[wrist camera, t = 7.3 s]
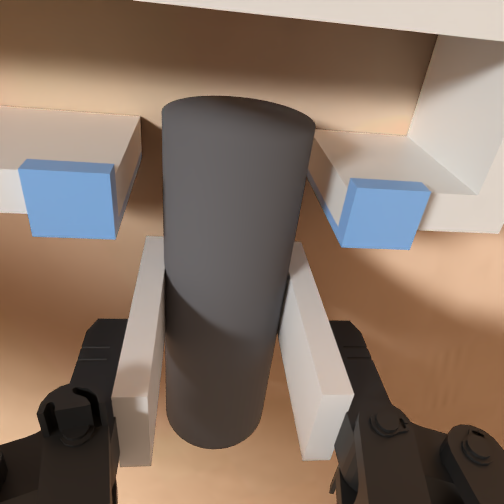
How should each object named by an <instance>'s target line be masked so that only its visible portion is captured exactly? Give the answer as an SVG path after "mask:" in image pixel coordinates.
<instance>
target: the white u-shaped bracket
mask: <svg viewBox="0 0 504 504" xmlns="http://www.w3.org/2000/svg"><path fill="white" fill-rule="evenodd" d="M135 1H144V2H153V3H162V4H171V5H180V6H189V7H198V8H207V9H216V10H225V11H234V12H243V13H252V14H261V15H270V16H279V17H288V18H297V19H306V20H315V21H324V22H333V23H342V24H351V25H360V26H369V27H378V28H387V29H396V30H405V31H414V32H423V33H432V34H438V37H437V41H436V44H435V47H434V50H433V53H432V57H431V60H430V63H429V66H428V69H427V73H426V76H425V79H424V82H423V85H422V89H421V92H420V95H419V98H418V101H417V105H416V108H415V111H414V114H413V117H412V121H411V124H410V127H409V130H408V133H407V136H400V135H387V134H373V133H360V132H347V131H333V130H320V129H315V134H314V139H313V144H312V150H311V155H310V160H309V166H308V171H307V179H308V181H309V183H310V185H311V187H312V189H313V191H314V193H315V195H316V197H317V199H318V201H319V203H320V205H321V207H322V209H323V211H324V213H325V215H326V217H327V219H328V221H329V223H330V225H331V227H332V229H333V231H334V233H335V236H336V238H337V240H338V242H339V244H340V246H341V247H343V248H371V249H400V250H410V248H411V245H412V242H413V239H414V237H415V234H416V231H417V230H423V231H447V232H471V233H494V234H499V232H500V230H501V228H502V226H503V224H504V0H135ZM141 159H142V145H141V122H140V116H132V115H119V114H106V113H92V112H79V111H65V110H52V109H39V108H25V107H12V106H0V213H20V214H28V218H29V223H30V228H31V232H32V237H59V238H87V239H116V237H117V234H118V231H119V227H120V224H121V221H122V218H123V215H124V212H125V209H126V206H127V203H128V199H129V196H130V193H131V190H132V187H133V184H134V181H135V178H136V175H137V172H138V168H139V165H140V162H141Z"/></svg>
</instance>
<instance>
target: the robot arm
mask: <svg viewBox="0 0 504 504" xmlns="http://www.w3.org/2000/svg"><path fill="white" fill-rule="evenodd" d="M165 333H166V316H165V266H164V237H162V236H146V240H145V245H144V249H143V254H142V258H141V263H140V268H139V272H138V277H137V281H136V286H135V291H134V295H133V300H132V304H131V309H130V314H129V318H128V319H98V320H97V321H96V322H95V323H94V324H93V325H92V326H91V327H90V328H89V329H88V331H87V332H86V335H85V338H84V341H83V344H82V349H81V350H80V353H79V357H78V361H77V363H76V366H75V369H74V372H73V375H72V378H71V381H70V384H67V385H64V386H60V387H59V388H57V389H56V390H54V391H52V392H51V393H49V394H48V395H47V397H46V398H45V399H44V400H43V401H42V402H41V404H40V406H39V409H38V412H37V417H38V420H39V424H40V427H41V431H39V432H37V433H35V434H33V435H30V436H28V437H25V438H22V439H19V440H15V441H12V442H9V443H6V444H2V445H0V504H118V497H117V482H116V474H117V468H118V462H120V467H137V466H151V463H152V453H153V444H154V435H155V425H156V416H157V407H158V398H159V388H160V379H161V370H162V360H163V351H164V342H165ZM277 334H278V339H279V344H280V349H281V354H282V359H283V364H284V369H285V374H286V379H287V385H288V390H289V395H290V400H291V405H292V410H293V415H294V420H295V425H296V430H297V435H298V440H299V446H300V451H301V456H302V461H315V460H330V459H331V456H332V454H333V451H334V448H335V452H336V455H337V459H338V463H339V465H338V467H337V470H336V472H335V475H334V477H333V480H332V482H331V485H330V492H329V493H331V494H334V491H335V489H336V496H337V504H504V450H503V449H502V447H501V446H500V445H499V444H498V443H497V441H496V440H495V439H494V438H493V437H492V436H490V435H489V434H487V433H486V432H485V431H483V430H481V429H479V428H476V427H474V426H471V425H463V424H461V425H458V426H455V427H453V428H452V429H451V430H450V432H449V433H448V434H445V433H442V432H438V431H435V430H431V429H428V428H424V427H421V426H418V425H416V424H413V423H412V422H410V421H409V419H408V418H407V417H406V415H405V414H404V413H403V412H402V411H401V410H399V409H398V408H396V407H395V406H393V405H392V404H391V402H390V400H389V398H388V395H387V393H386V391H385V388H384V386H383V384H382V381H381V379H380V377H379V374H378V372H377V370H376V367H375V365H374V362H373V360H371V355H370V353H369V351H368V349H367V348H366V347H367V346H366V344H365V341H364V339H363V337H362V334H361V332H360V331H359V330H358V329H357V328H356V327H355V326H354V325H353V324H352V323H351V322H350V321H328V318H327V315H326V312H325V309H324V306H323V303H322V300H321V298H320V295H319V292H318V289H317V286H316V283H315V280H314V277H313V275H312V272H311V269H310V266H309V263H308V260H307V257H306V255H305V252H304V249H303V246H302V243H301V242H294V245H293V251H292V256H291V261H290V266H289V272H288V277H287V282H286V288H285V293H284V298H283V304H282V309H281V314H280V320H279V325H278V330H277Z"/></svg>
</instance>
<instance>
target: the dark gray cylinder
mask: <svg viewBox="0 0 504 504" xmlns="http://www.w3.org/2000/svg"><path fill="white" fill-rule="evenodd" d="M315 128H316V126H315V123H314V122H313V120H312V119H311V118H309V117H308V116H307V115H305V114H303V113H301V112H299V111H297V110H295V109H292V108H289V107H286V106H283V105H280V104H276V103H272V102H268V101H263V100H257V99H251V98H243V97H232V96H198V97H189V98H183V99H179V100H176V101H173V102H170V103H168V104H167V105H166V106H164V108H163V109H162V164H163V229H164V266H165V316H166V333H165V359H166V411H167V417H168V420H169V423H170V425H171V426H172V428H173V430H174V431H175V432H176V433H177V434H178V435H179V436H180V437H181V438H182V439H184V440H185V441H187V442H188V443H190V444H192V445H195V446H198V447H201V448H206V449H222V448H228V447H231V446H234V445H236V444H238V443H240V442H242V441H244V440H245V439H246V438H248V437H249V436H250V435H251V434H252V433H253V432H254V430H255V429H256V427H257V426H258V424H259V422H260V419H261V415H262V410H263V405H264V399H265V394H266V389H267V383H268V378H269V373H270V367H271V362H272V357H273V351H274V346H275V341H276V335H277V330H278V325H279V320H280V314H281V309H282V304H283V298H284V293H285V288H286V282H287V277H288V272H289V266H290V261H291V256H292V251H293V245H294V240H295V235H296V229H297V224H298V219H299V213H300V208H301V203H302V197H303V192H304V187H305V181H306V176H307V171H308V166H309V160H310V155H311V150H312V144H313V139H314V134H315Z"/></svg>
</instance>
